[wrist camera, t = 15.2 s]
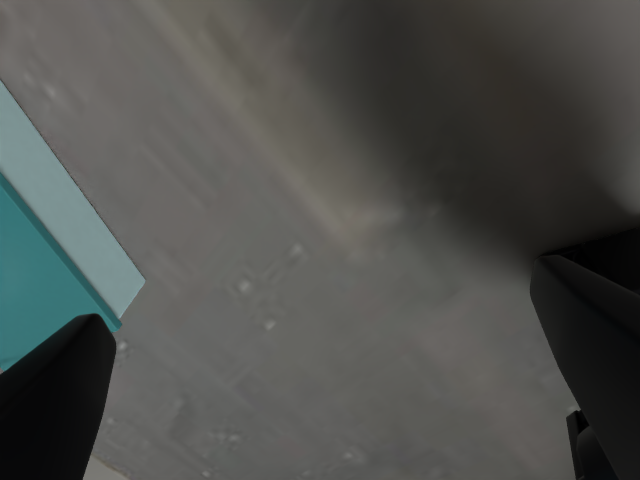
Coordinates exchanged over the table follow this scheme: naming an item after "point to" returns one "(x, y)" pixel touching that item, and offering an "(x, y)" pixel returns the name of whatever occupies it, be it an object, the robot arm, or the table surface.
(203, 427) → the table surface
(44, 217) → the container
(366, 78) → the table surface
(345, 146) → the table surface
